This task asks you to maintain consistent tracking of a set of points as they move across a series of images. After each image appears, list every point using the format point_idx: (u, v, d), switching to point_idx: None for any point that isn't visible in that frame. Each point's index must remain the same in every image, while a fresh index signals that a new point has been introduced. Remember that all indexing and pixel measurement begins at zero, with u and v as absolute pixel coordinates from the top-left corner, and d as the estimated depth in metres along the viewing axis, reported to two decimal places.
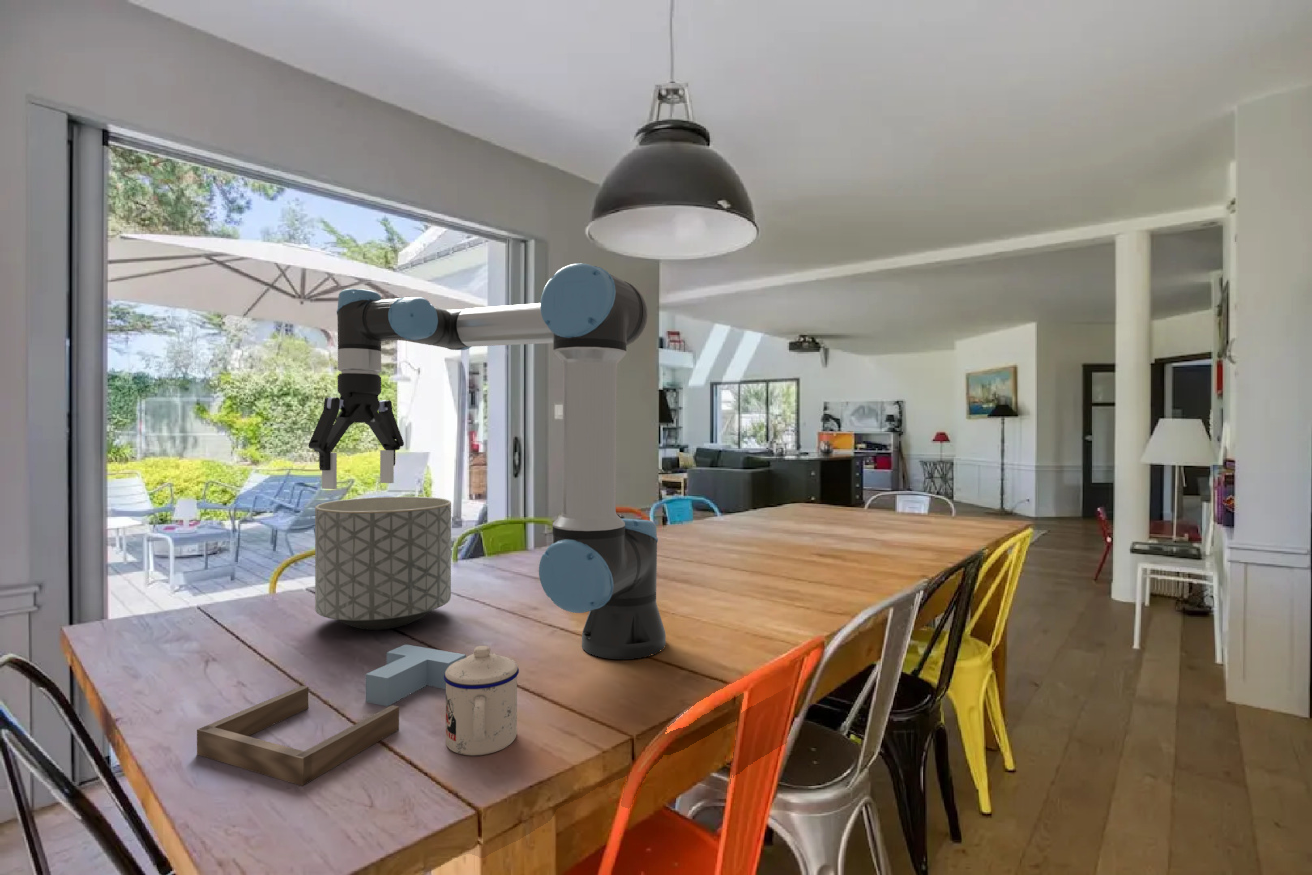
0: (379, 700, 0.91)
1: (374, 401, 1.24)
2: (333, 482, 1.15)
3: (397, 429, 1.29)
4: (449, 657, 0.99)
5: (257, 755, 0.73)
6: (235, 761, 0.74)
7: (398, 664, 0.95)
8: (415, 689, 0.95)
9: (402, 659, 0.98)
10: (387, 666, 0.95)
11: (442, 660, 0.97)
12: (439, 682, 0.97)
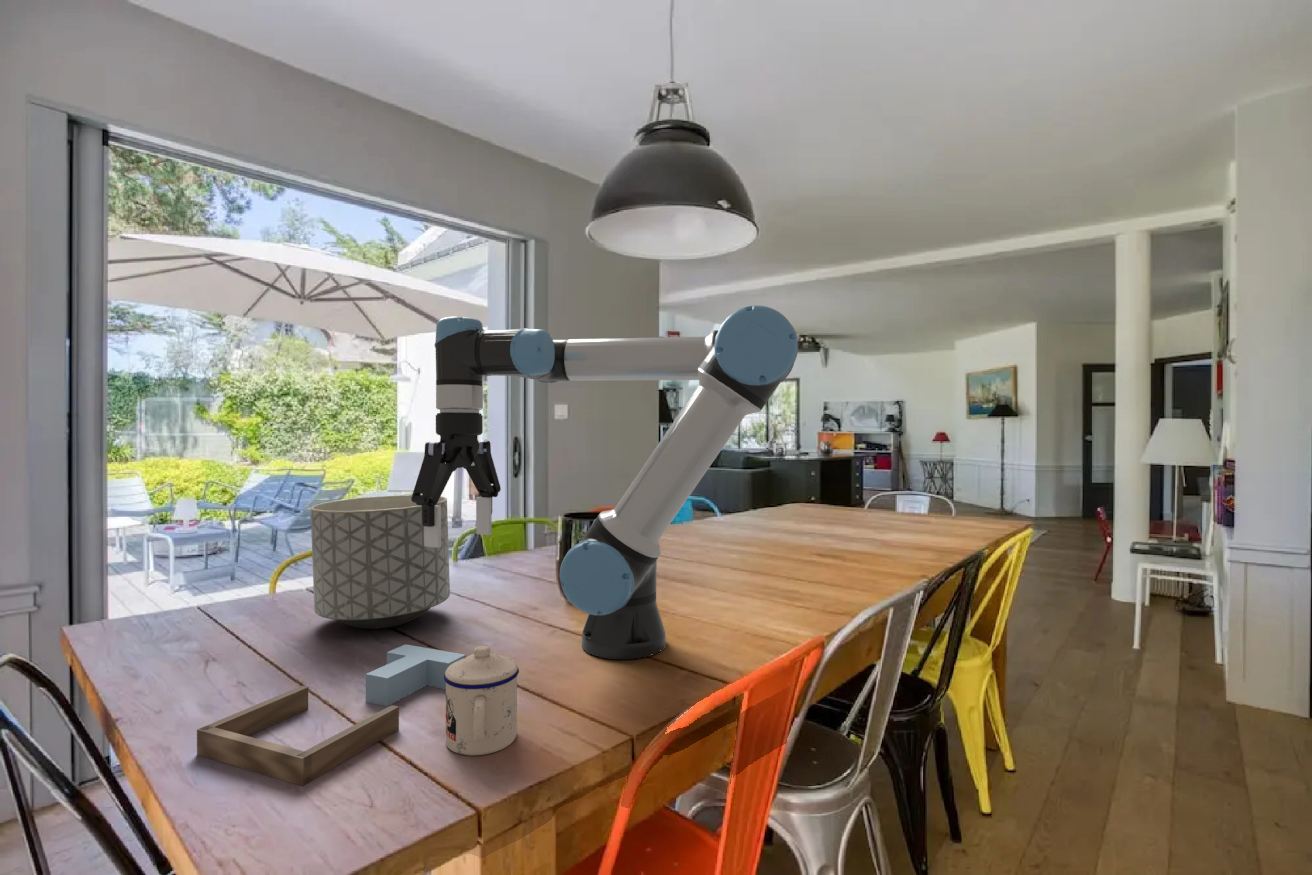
0: (379, 700, 0.91)
1: (474, 442, 1.09)
2: (438, 539, 1.01)
3: (495, 473, 1.15)
4: (449, 657, 0.99)
5: (257, 755, 0.73)
6: (235, 761, 0.74)
7: (398, 664, 0.95)
8: (415, 689, 0.95)
9: (402, 659, 0.98)
10: (387, 666, 0.95)
11: (442, 660, 0.97)
12: (439, 682, 0.97)
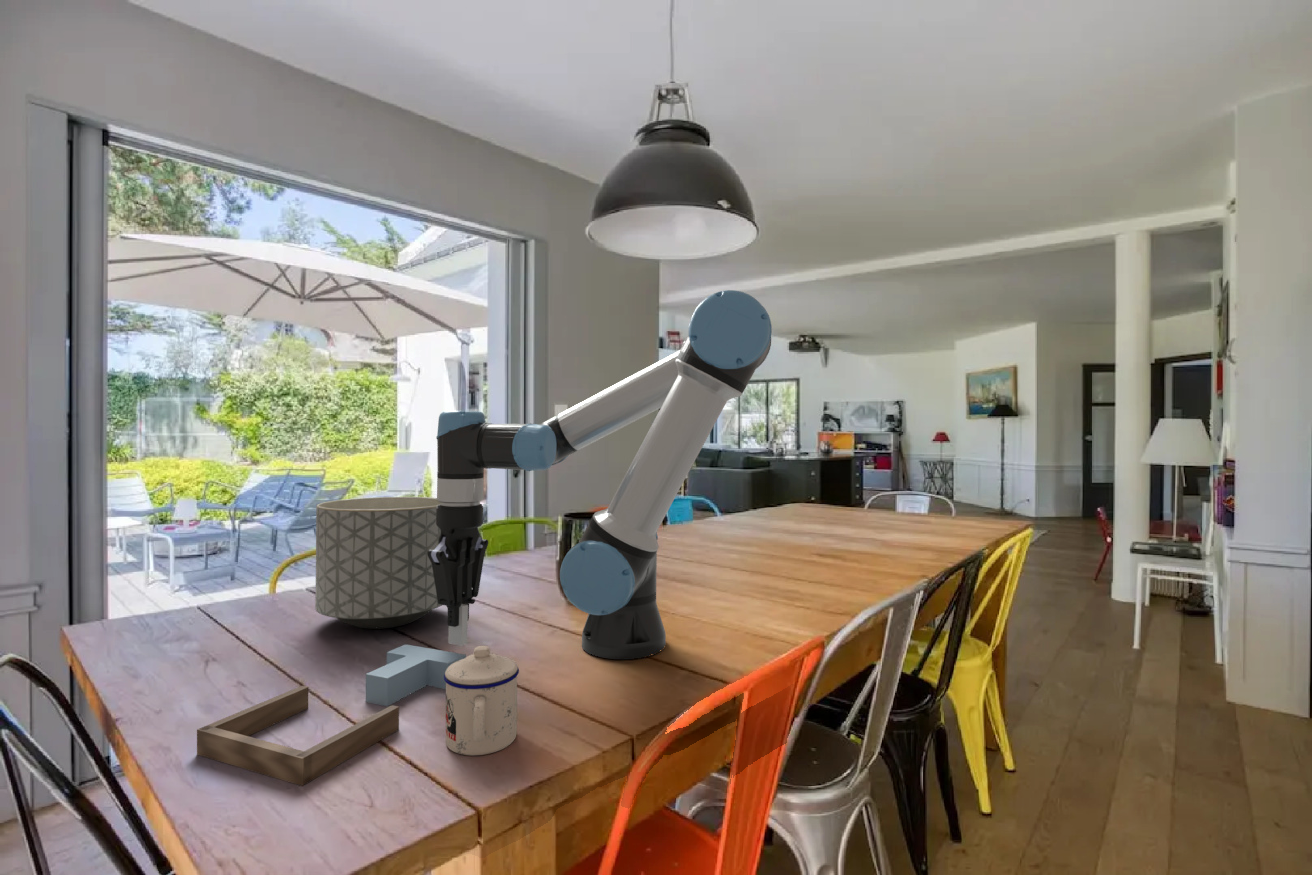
0: (379, 700, 0.91)
1: (476, 530, 1.10)
2: (462, 638, 1.07)
3: (479, 575, 1.11)
4: (449, 657, 0.99)
5: (257, 755, 0.73)
6: (235, 761, 0.74)
7: (398, 664, 0.95)
8: (415, 689, 0.95)
9: (402, 659, 0.98)
10: (387, 666, 0.95)
11: (442, 660, 0.97)
12: (439, 682, 0.97)
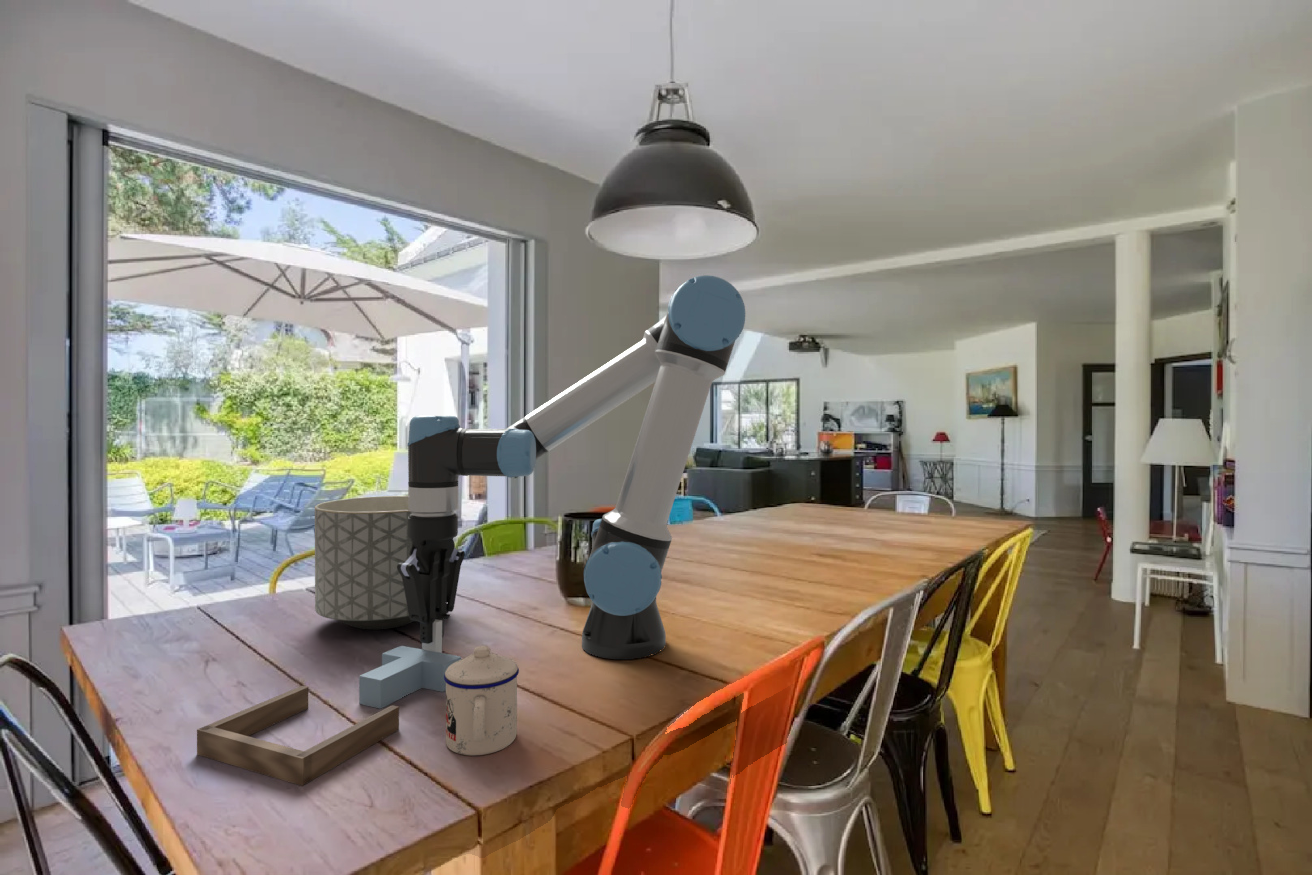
0: (372, 702, 0.90)
1: (451, 541, 1.04)
2: None
3: (455, 588, 1.05)
4: (444, 658, 0.98)
5: (257, 755, 0.73)
6: (235, 761, 0.74)
7: (392, 666, 0.95)
8: (409, 691, 0.95)
9: (397, 661, 0.97)
10: (382, 667, 0.94)
11: (437, 662, 0.96)
12: (434, 684, 0.96)
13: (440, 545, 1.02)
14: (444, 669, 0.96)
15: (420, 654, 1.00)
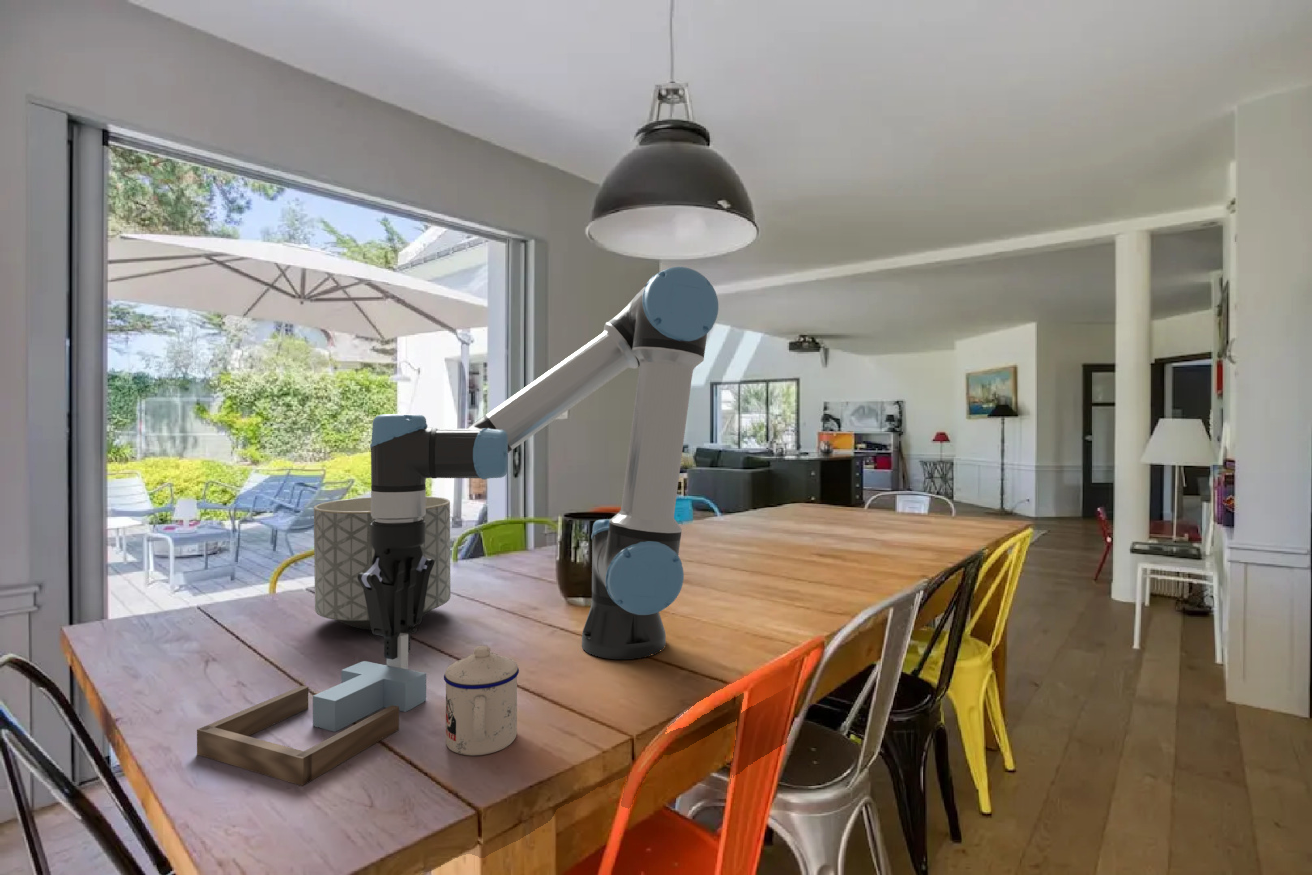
0: (327, 725, 0.83)
1: (418, 549, 0.97)
2: None
3: (423, 599, 0.98)
4: (408, 675, 0.91)
5: (257, 755, 0.73)
6: (235, 761, 0.74)
7: (350, 685, 0.88)
8: (369, 711, 0.88)
9: (356, 678, 0.90)
10: (338, 686, 0.87)
11: (399, 679, 0.90)
12: (396, 703, 0.89)
13: (406, 553, 0.95)
14: (406, 687, 0.89)
15: (382, 670, 0.93)
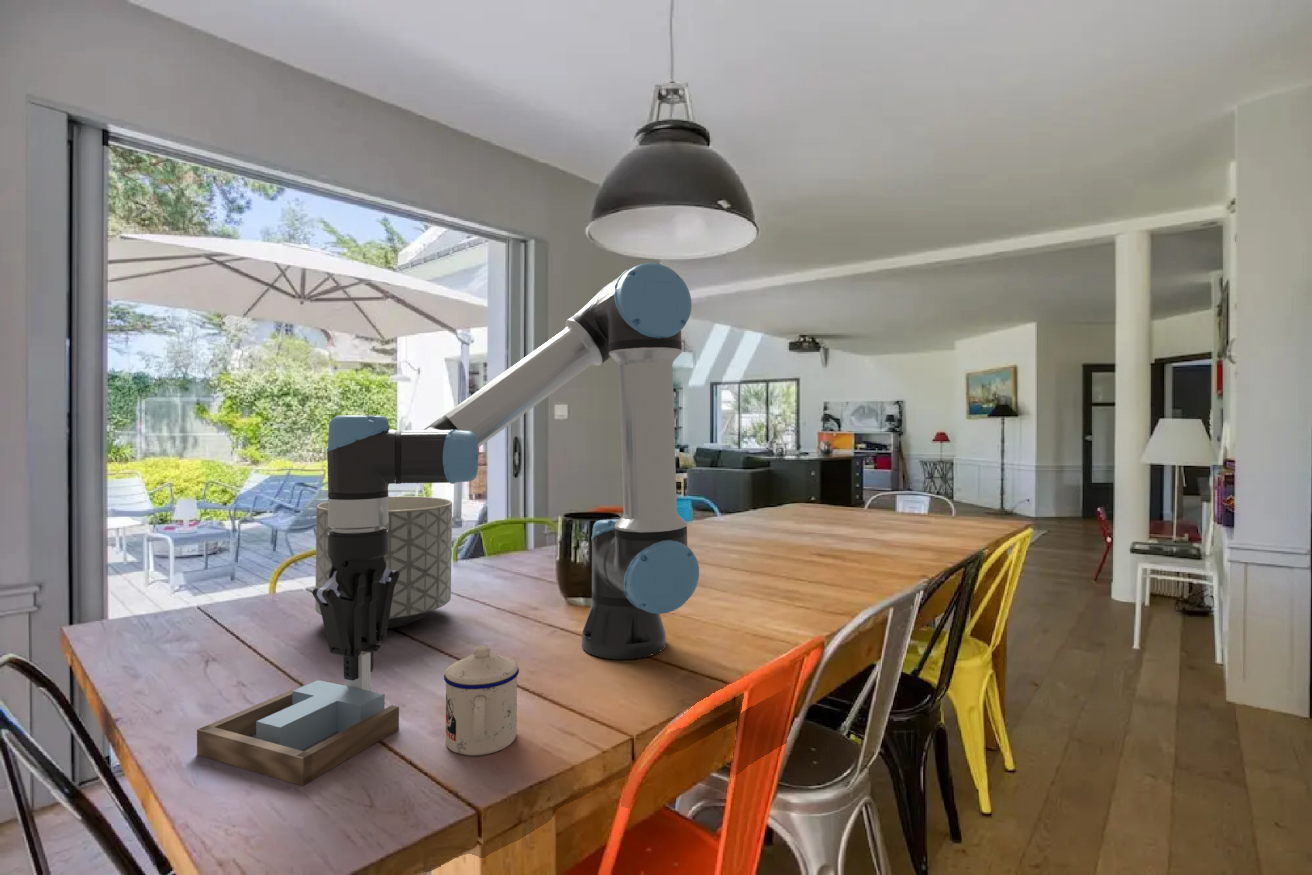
0: None
1: (381, 560, 0.90)
2: None
3: (387, 614, 0.91)
4: (364, 697, 0.84)
5: (257, 755, 0.73)
6: (235, 761, 0.74)
7: (300, 708, 0.81)
8: (320, 737, 0.81)
9: (307, 700, 0.83)
10: (286, 710, 0.80)
11: (354, 702, 0.82)
12: None
13: (367, 565, 0.88)
14: (362, 710, 0.82)
15: (337, 691, 0.86)
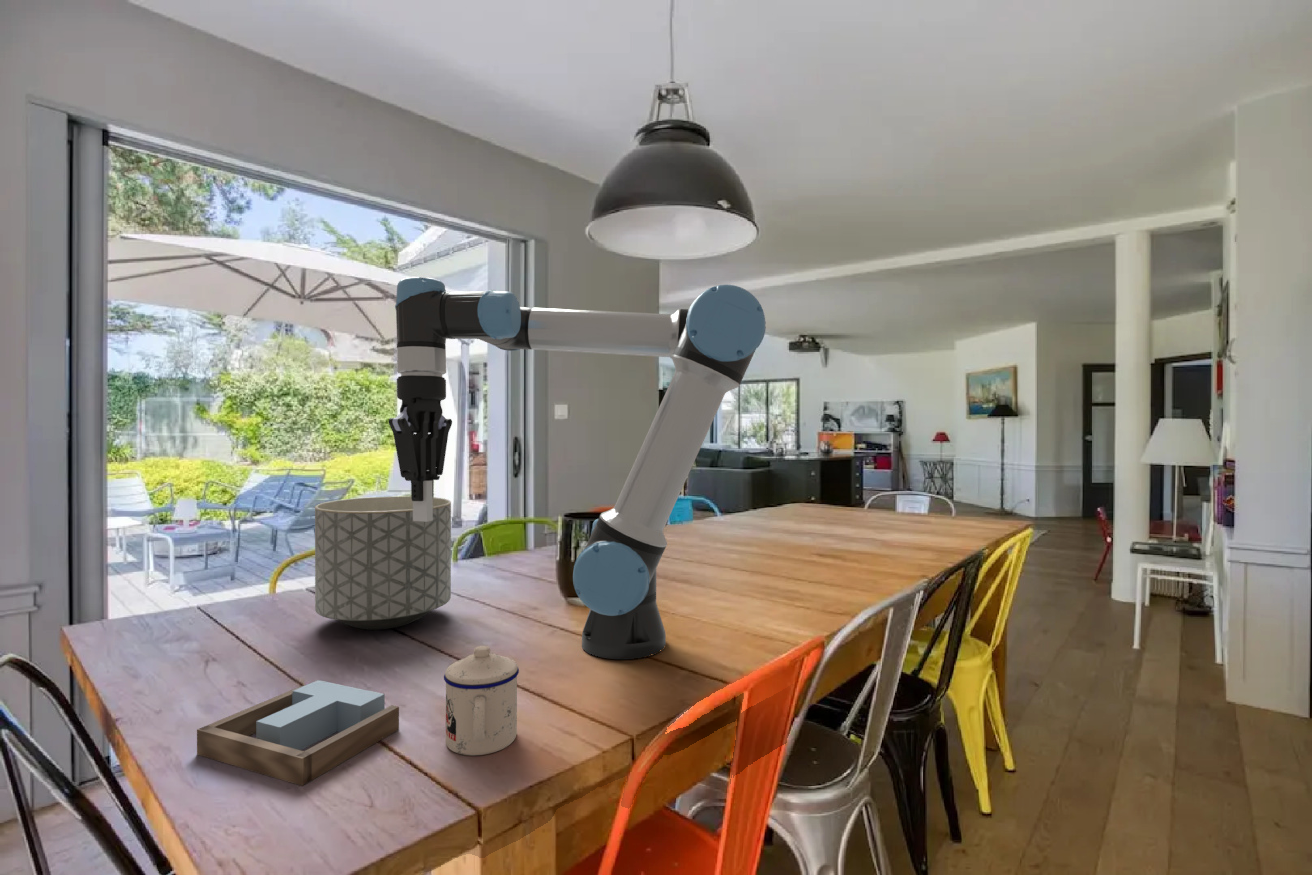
0: None
1: (439, 406, 1.07)
2: (427, 514, 1.04)
3: (444, 454, 1.08)
4: (364, 697, 0.84)
5: (257, 755, 0.73)
6: (235, 761, 0.74)
7: (300, 708, 0.81)
8: (320, 737, 0.81)
9: (307, 700, 0.83)
10: (286, 710, 0.80)
11: (354, 702, 0.82)
12: None
13: (429, 407, 1.05)
14: (362, 710, 0.82)
15: (337, 691, 0.86)
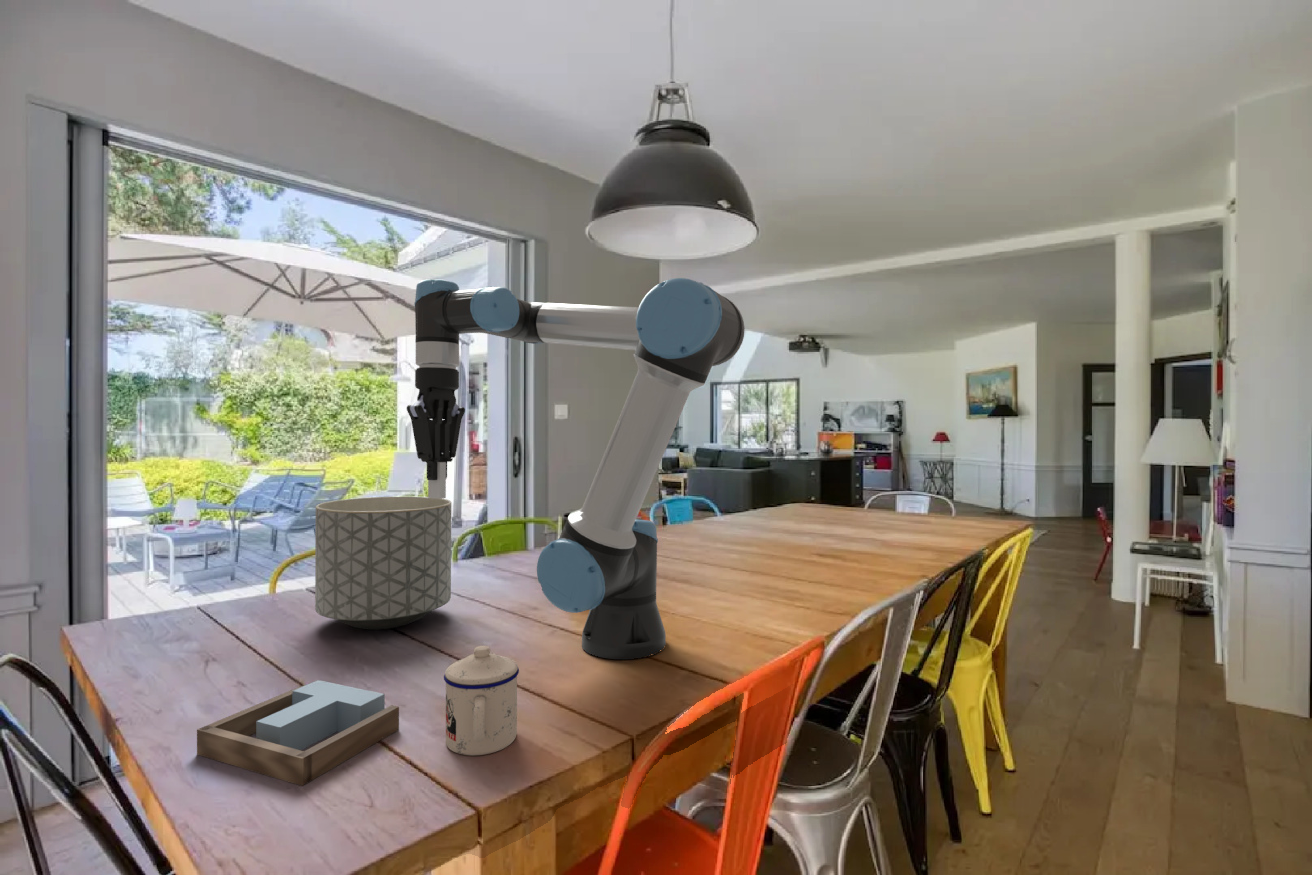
0: None
1: (453, 396, 1.19)
2: (440, 492, 1.16)
3: (457, 438, 1.20)
4: (364, 697, 0.84)
5: (257, 755, 0.73)
6: (235, 761, 0.74)
7: (300, 708, 0.81)
8: (320, 737, 0.81)
9: (307, 700, 0.83)
10: (286, 710, 0.80)
11: (354, 701, 0.82)
12: None
13: (443, 396, 1.16)
14: (362, 710, 0.82)
15: (337, 691, 0.86)
